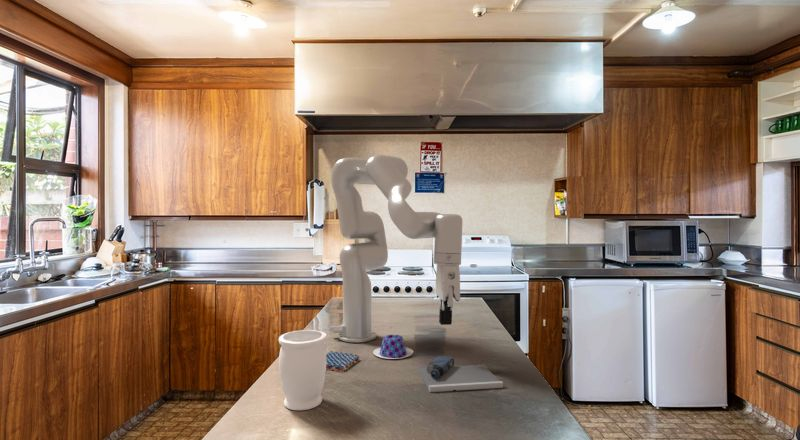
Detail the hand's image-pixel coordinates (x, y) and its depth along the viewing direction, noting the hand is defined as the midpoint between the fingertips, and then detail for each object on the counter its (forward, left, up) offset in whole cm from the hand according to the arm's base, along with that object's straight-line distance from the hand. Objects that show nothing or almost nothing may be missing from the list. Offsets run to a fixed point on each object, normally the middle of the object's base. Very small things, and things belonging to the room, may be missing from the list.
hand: (445, 323), depth 122 cm
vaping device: (0, -3, -9) cm, 10 cm away
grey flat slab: (+1, -11, -11) cm, 16 cm away
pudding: (-13, +10, -12) cm, 20 cm away
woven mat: (-30, +4, -12) cm, 33 cm away
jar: (-37, -20, -11) cm, 44 cm away
